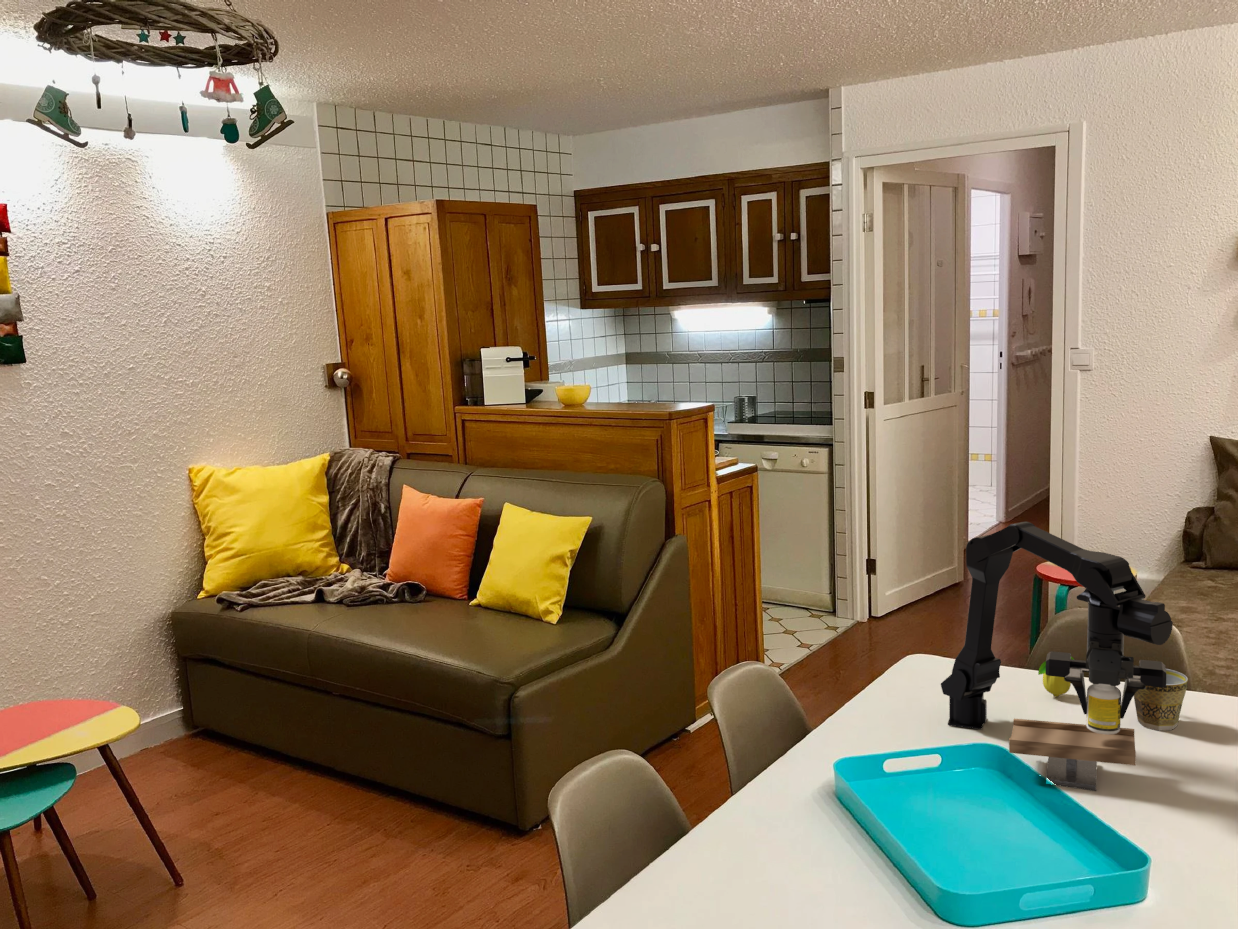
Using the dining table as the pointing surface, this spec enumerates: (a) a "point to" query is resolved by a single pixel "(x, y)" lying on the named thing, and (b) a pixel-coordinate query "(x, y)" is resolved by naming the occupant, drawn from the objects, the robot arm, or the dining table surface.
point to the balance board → (1072, 742)
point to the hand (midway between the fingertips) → (1103, 715)
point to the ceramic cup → (1161, 702)
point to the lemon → (1054, 682)
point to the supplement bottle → (1103, 709)
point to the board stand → (1072, 773)
